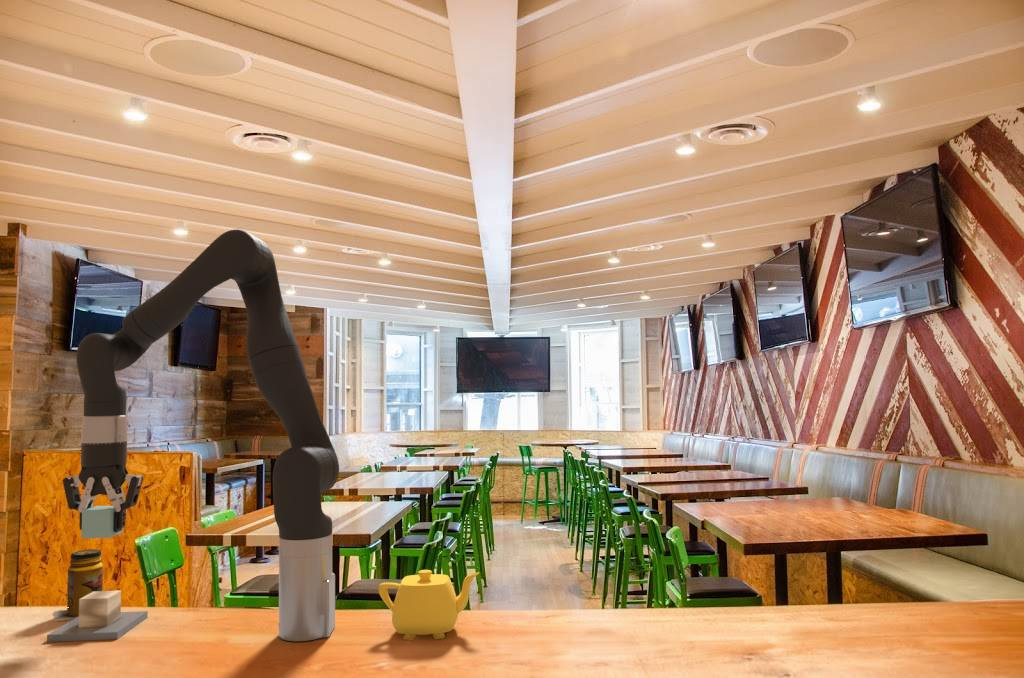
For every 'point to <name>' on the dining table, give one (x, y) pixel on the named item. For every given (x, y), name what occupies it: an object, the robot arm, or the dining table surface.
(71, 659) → the dining table surface
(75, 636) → the plate
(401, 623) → the teapot
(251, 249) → the robot arm
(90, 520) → the block teal
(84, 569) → the condiment
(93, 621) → the block birch
